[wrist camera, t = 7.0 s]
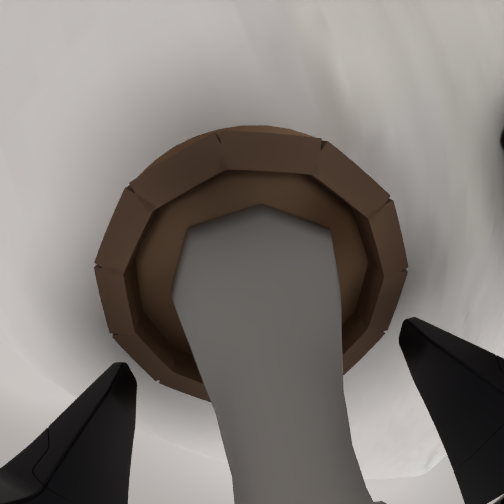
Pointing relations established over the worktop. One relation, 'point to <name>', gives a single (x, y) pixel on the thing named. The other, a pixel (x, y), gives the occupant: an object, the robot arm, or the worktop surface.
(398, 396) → the worktop surface
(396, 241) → the round wooden tray
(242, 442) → the flask
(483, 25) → the worktop surface
